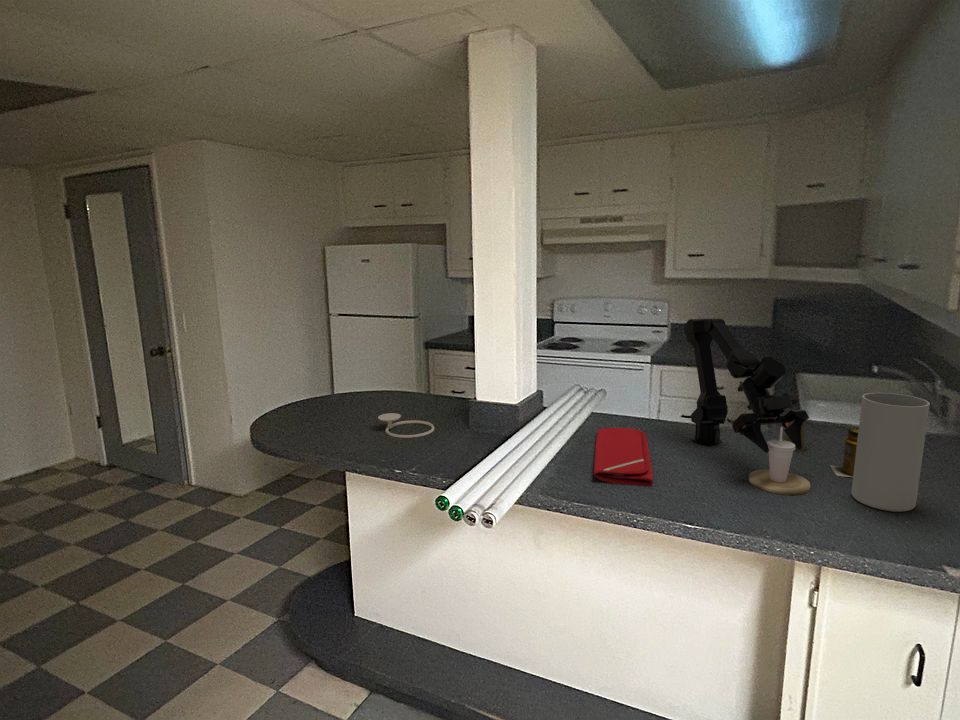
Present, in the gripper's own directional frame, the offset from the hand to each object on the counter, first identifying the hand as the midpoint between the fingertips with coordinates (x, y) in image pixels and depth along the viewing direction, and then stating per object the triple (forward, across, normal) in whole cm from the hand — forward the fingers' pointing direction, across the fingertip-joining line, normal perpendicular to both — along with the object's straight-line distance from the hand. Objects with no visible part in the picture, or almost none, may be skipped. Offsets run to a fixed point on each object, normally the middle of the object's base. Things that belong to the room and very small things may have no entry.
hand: (784, 450), depth 143 cm
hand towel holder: (-42, -92, +56) cm, 116 cm away
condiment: (+5, +23, +9) cm, 25 cm away
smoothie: (+5, 0, +7) cm, 8 cm away
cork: (-10, +22, +23) cm, 34 cm away
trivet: (+6, 0, +7) cm, 9 cm away
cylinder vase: (+16, +17, -3) cm, 23 cm away
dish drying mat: (-13, -31, +27) cm, 43 cm away
